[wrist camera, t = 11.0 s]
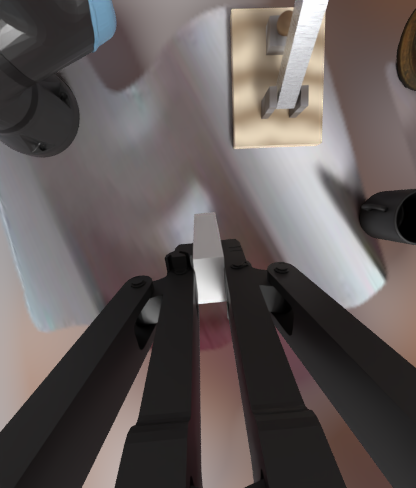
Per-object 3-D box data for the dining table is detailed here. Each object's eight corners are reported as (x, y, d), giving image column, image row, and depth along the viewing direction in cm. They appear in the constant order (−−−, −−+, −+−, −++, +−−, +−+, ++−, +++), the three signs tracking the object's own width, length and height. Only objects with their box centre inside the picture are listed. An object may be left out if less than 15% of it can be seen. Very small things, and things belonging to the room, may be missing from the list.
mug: (356, 182, 47) (393, 176, 38) (411, 199, 48) (459, 197, 39) (340, 227, 48) (371, 232, 40) (393, 243, 49) (436, 251, 40)
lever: (296, 109, 39) (347, -46, 25) (274, 110, 39) (313, -45, 25) (291, 96, 41) (336, -55, 27) (270, 97, 41) (304, -55, 27)
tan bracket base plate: (316, 145, 46) (338, 134, 39) (233, 148, 45) (239, 137, 38) (319, 15, 42) (344, -24, 35) (230, 18, 42) (236, -22, 35)
